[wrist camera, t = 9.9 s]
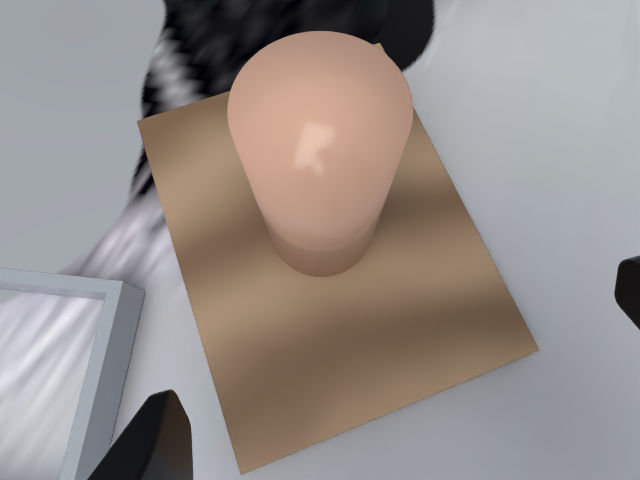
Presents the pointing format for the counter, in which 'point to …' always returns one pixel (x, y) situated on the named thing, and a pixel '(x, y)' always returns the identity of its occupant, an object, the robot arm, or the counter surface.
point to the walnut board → (326, 294)
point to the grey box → (92, 360)
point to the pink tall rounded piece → (320, 143)
